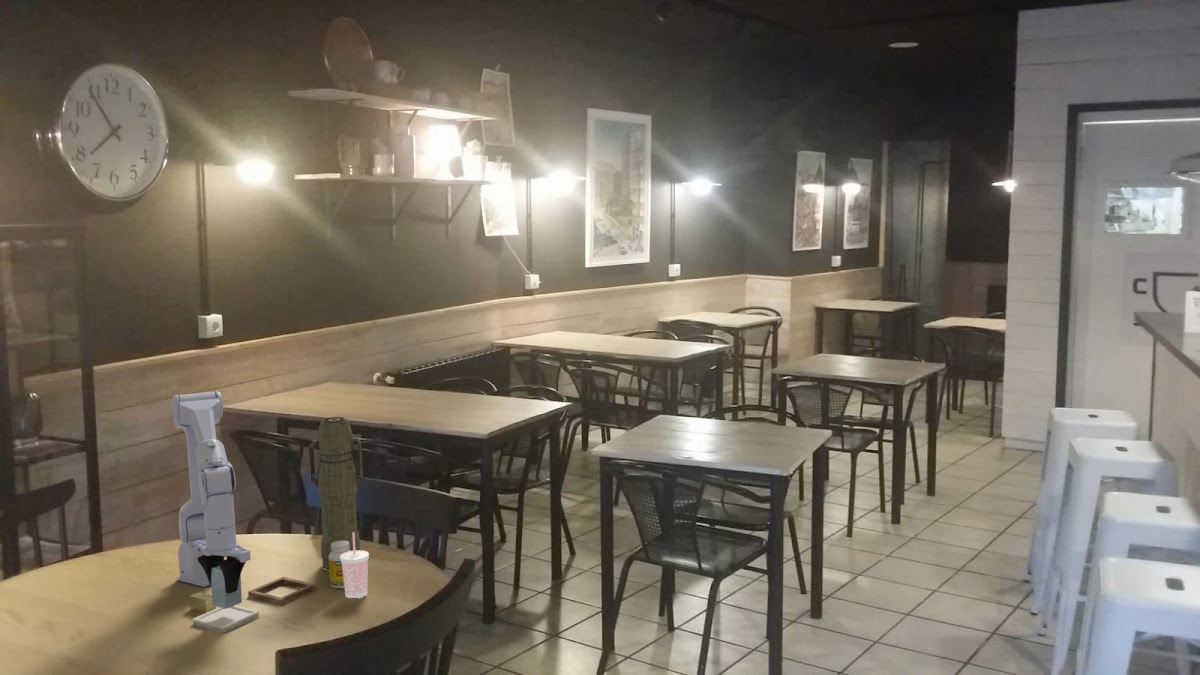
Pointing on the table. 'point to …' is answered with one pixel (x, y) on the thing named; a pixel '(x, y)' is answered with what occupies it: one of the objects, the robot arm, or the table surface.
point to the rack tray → (225, 618)
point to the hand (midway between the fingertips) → (224, 589)
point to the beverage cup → (355, 572)
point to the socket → (306, 589)
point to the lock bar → (201, 602)
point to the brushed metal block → (223, 590)
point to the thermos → (336, 483)
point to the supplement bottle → (337, 563)
